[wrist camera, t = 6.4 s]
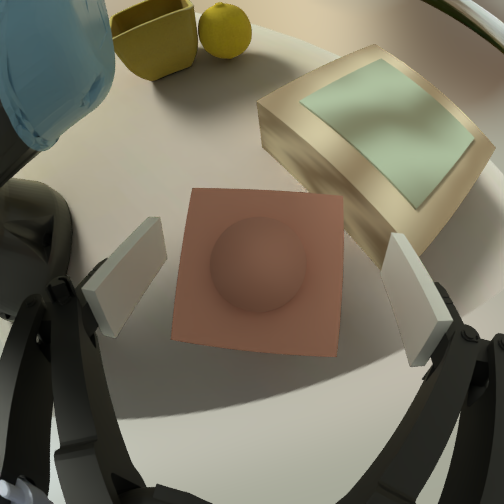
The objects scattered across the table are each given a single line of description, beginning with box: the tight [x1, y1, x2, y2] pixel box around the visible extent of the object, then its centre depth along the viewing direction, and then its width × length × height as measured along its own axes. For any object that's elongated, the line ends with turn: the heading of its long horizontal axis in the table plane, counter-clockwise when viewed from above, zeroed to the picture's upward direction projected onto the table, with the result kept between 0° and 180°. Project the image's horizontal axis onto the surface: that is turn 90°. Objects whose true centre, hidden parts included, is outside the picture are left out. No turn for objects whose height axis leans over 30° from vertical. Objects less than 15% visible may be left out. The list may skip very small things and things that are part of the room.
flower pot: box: [109, 0, 198, 81], centre depth 22 cm, size 9×9×9 cm
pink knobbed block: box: [171, 188, 344, 357], centre depth 13 cm, size 4×4×13 cm
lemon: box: [198, 2, 252, 59], centre depth 21 cm, size 6×6×8 cm
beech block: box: [257, 44, 495, 271], centre depth 18 cm, size 14×14×6 cm
